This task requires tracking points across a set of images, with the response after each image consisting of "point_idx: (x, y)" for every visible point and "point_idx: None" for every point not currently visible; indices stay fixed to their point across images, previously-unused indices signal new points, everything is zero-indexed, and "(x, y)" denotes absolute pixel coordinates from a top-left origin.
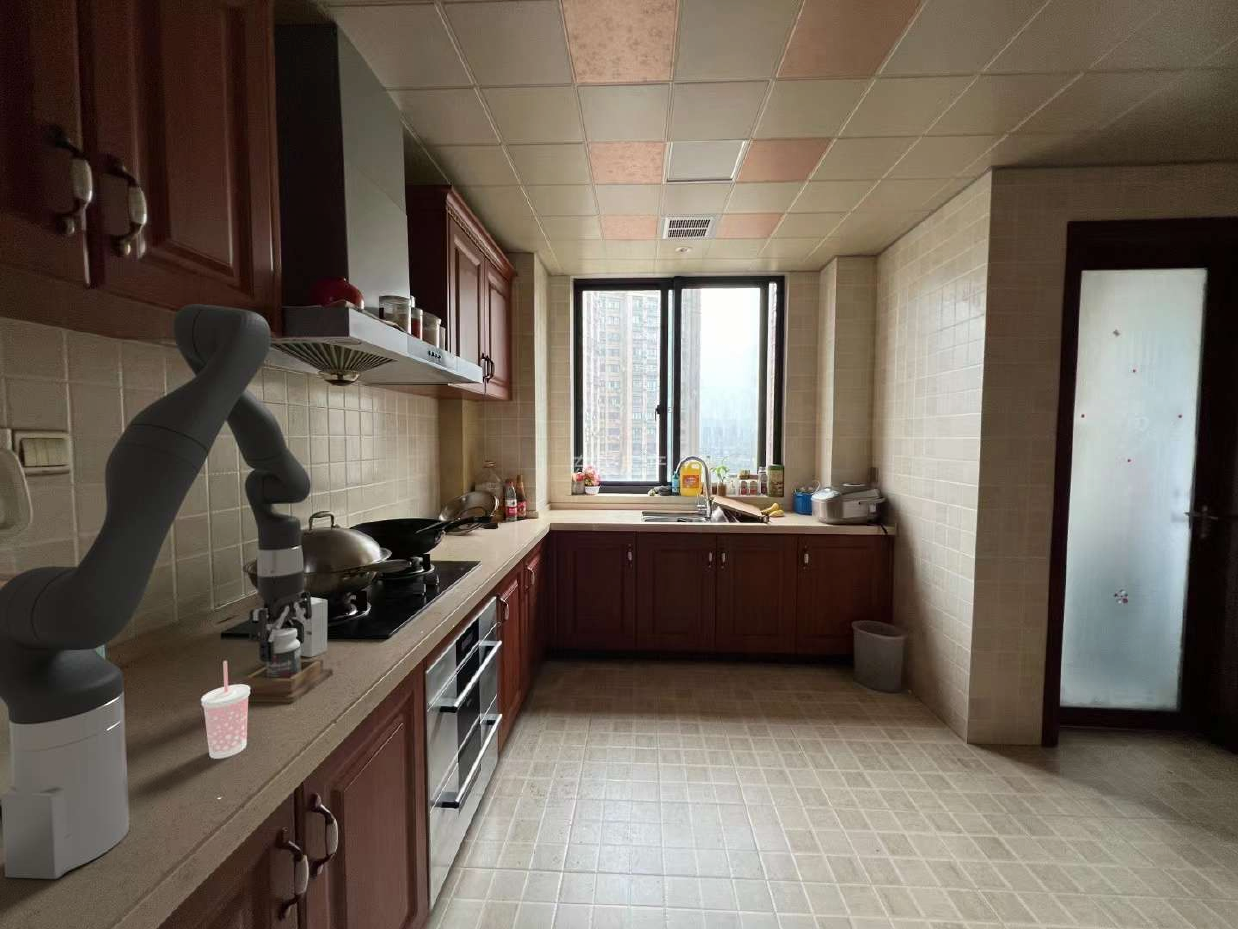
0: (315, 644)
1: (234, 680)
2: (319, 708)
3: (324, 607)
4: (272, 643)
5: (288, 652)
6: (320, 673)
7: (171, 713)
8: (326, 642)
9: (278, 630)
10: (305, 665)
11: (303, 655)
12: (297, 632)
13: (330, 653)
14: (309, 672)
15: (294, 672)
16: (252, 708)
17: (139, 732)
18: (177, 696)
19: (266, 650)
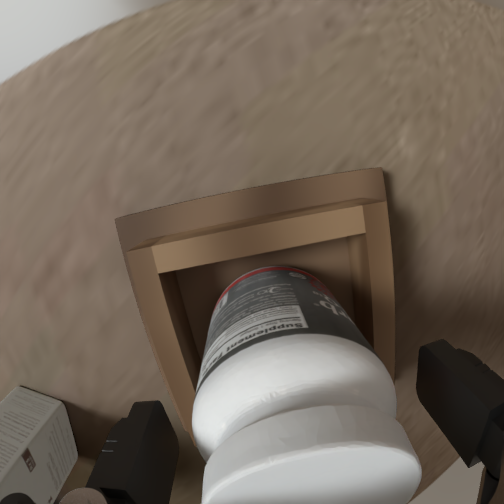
0: (32, 418)
1: None
2: (377, 49)
3: None
4: (491, 398)
5: (350, 338)
6: (165, 235)
7: (436, 432)
8: (4, 399)
9: None
10: (177, 317)
11: (70, 427)
12: (150, 475)
13: (19, 364)
14: (244, 224)
15: (291, 277)
16: (423, 278)
17: None
18: None
19: (497, 376)
